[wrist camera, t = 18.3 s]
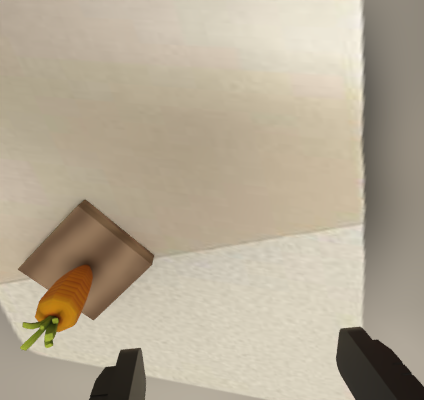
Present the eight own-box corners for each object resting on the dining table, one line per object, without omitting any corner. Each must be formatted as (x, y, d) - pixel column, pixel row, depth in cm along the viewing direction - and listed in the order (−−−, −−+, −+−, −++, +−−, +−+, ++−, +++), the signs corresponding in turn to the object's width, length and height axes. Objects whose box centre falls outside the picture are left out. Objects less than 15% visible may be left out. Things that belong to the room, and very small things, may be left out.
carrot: (73, 281, 43) (16, 366, 28) (67, 252, 41) (4, 327, 27) (106, 279, 43) (66, 362, 29) (102, 251, 41) (57, 324, 27)
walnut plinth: (28, 259, 44) (17, 269, 41) (85, 199, 42) (77, 205, 39) (99, 308, 48) (93, 320, 45) (154, 255, 46) (151, 264, 43)
